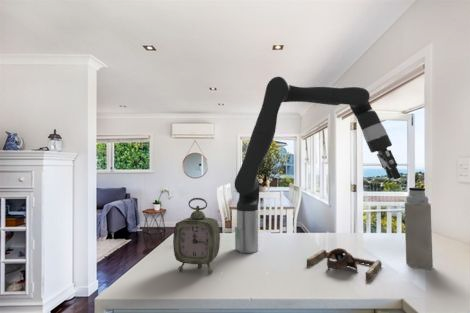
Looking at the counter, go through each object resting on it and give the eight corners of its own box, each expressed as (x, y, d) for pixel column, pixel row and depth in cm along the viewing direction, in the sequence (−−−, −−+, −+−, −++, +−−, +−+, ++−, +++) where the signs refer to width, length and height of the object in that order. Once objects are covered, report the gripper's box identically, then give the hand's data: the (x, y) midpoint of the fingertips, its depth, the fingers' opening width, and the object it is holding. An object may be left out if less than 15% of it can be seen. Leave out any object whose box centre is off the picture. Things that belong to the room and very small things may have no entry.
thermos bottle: (403, 260, 103) (401, 186, 105) (428, 262, 101) (425, 187, 102) (409, 267, 96) (407, 188, 97) (436, 270, 93) (433, 188, 94)
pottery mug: (364, 277, 89) (354, 256, 88) (337, 287, 91) (327, 268, 89) (351, 256, 101) (342, 238, 100) (327, 266, 103) (318, 248, 101)
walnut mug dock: (324, 255, 110) (324, 248, 110) (381, 266, 97) (381, 259, 97) (306, 266, 98) (306, 259, 98) (369, 281, 84) (369, 273, 85)
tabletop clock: (172, 273, 92) (173, 198, 93) (183, 263, 101) (184, 196, 102) (213, 276, 89) (213, 199, 90) (221, 266, 97) (221, 196, 98)
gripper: (364, 143, 110) (381, 181, 107) (368, 139, 97) (388, 182, 94) (383, 136, 108) (401, 174, 105) (390, 131, 94) (411, 175, 92)
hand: (395, 178), depth 100 cm, fingers open, 8 cm apart
